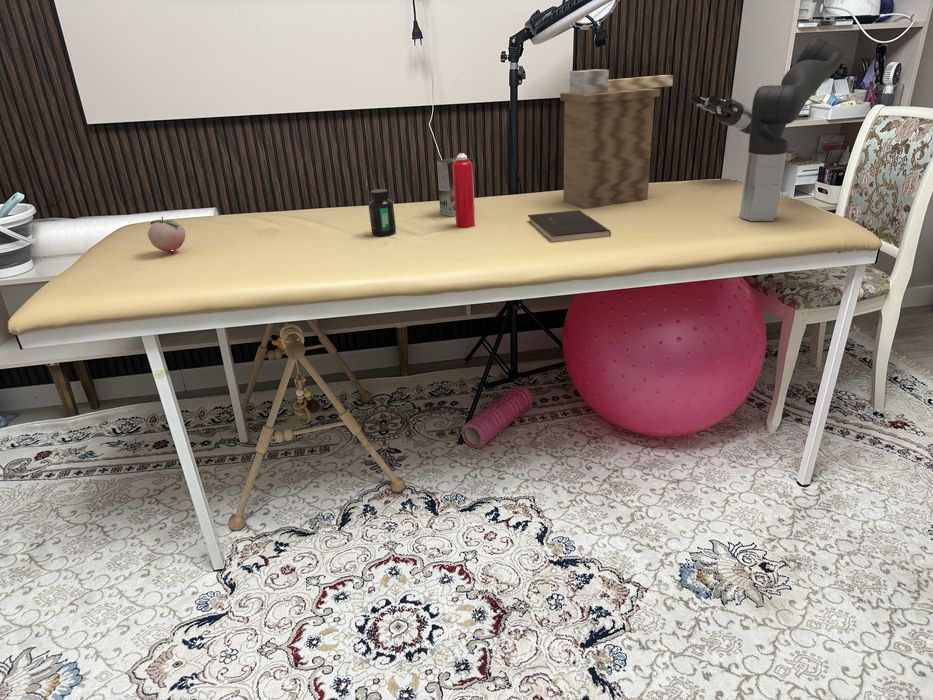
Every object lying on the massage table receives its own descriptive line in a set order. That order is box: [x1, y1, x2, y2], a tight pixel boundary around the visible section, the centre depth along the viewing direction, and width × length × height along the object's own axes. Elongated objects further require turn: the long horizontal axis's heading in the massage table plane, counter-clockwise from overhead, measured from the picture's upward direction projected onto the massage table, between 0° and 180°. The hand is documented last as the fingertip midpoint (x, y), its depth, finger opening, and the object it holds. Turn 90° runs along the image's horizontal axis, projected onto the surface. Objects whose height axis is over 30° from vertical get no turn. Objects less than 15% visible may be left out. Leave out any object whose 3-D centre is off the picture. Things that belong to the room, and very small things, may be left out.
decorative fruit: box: [147, 216, 186, 254], centre depth 169 cm, size 9×8×10 cm
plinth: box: [559, 88, 661, 210], centre depth 193 cm, size 24×16×32 cm, turn 111°
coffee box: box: [436, 157, 476, 218], centre depth 192 cm, size 9×6×16 cm
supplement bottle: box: [368, 188, 397, 238], centre depth 175 cm, size 7×7×12 cm
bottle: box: [452, 152, 476, 229], centre depth 177 cm, size 5×5×20 cm
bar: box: [569, 69, 674, 95], centre depth 186 cm, size 32×8×6 cm, turn 111°
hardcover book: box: [527, 209, 612, 243], centre depth 172 cm, size 16×23×2 cm
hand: (700, 97), depth 198 cm, fingers open, 8 cm apart
